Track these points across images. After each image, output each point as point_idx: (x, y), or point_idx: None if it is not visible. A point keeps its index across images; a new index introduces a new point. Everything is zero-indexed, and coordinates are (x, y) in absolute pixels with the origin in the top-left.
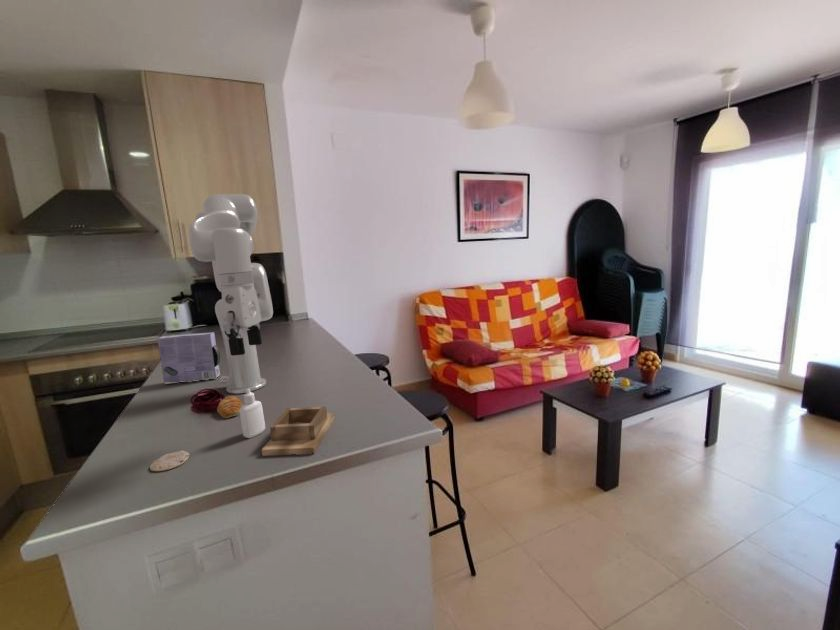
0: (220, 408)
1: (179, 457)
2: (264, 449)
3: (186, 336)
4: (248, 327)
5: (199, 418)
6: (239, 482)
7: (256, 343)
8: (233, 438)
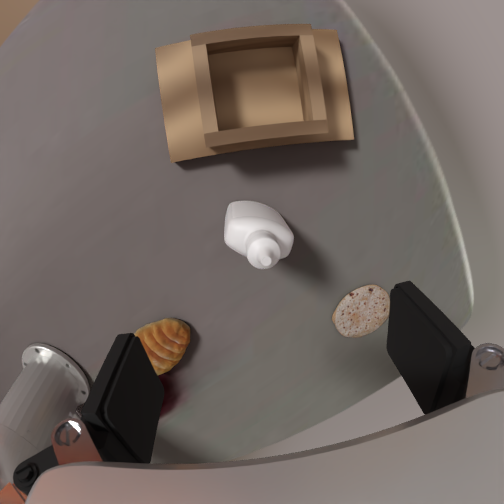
0: (175, 361)
1: (358, 303)
2: (352, 133)
3: None
4: (450, 405)
5: (198, 381)
6: (422, 140)
7: (144, 360)
8: None
